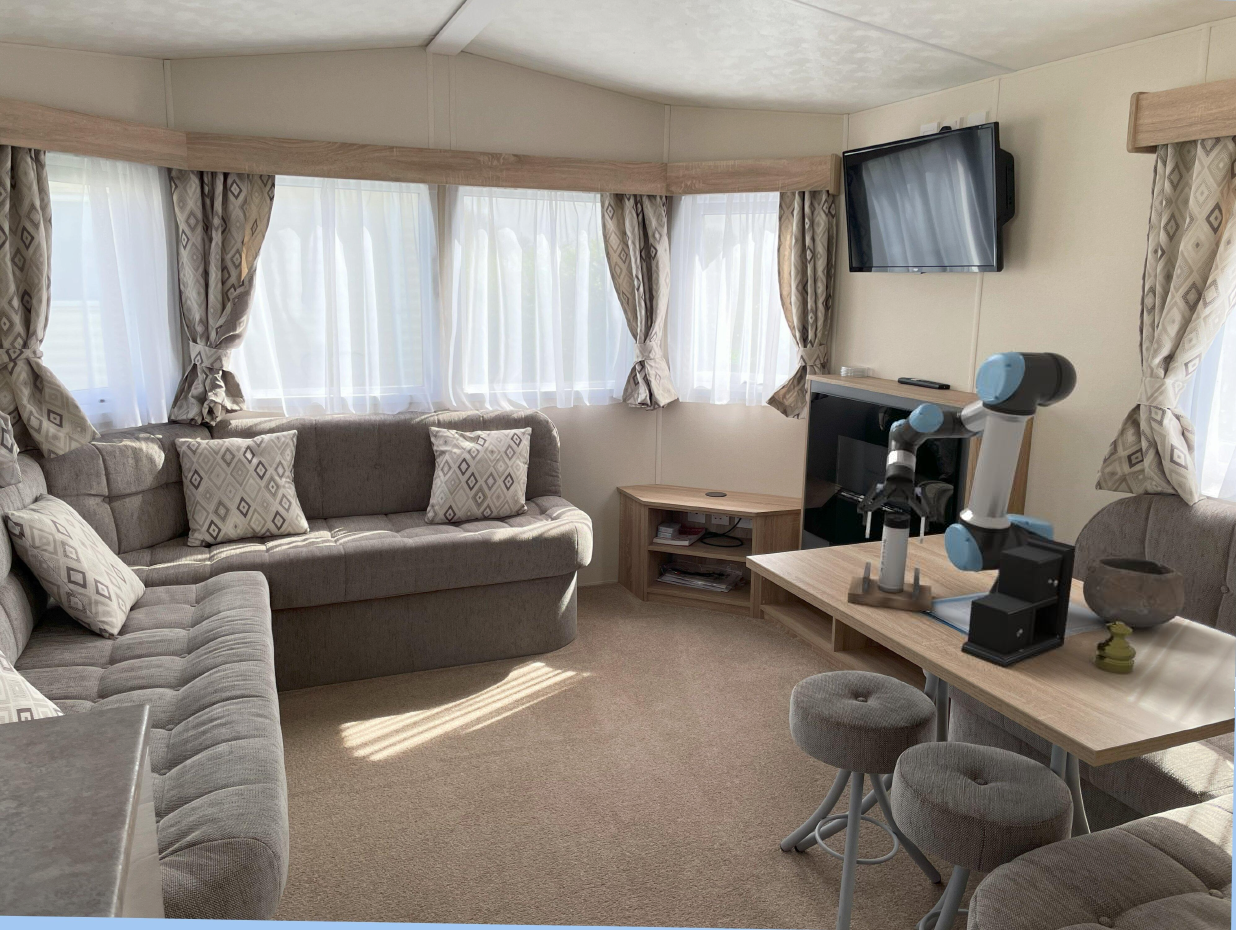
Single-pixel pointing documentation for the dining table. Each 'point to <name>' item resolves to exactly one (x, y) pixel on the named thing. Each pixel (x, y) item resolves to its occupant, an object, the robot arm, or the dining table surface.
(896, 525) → the travel mug
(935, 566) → the dining table surface
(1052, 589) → the black mini cabinet
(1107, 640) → the green coiled snake figurine
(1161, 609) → the clay pot
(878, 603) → the wooden rack
